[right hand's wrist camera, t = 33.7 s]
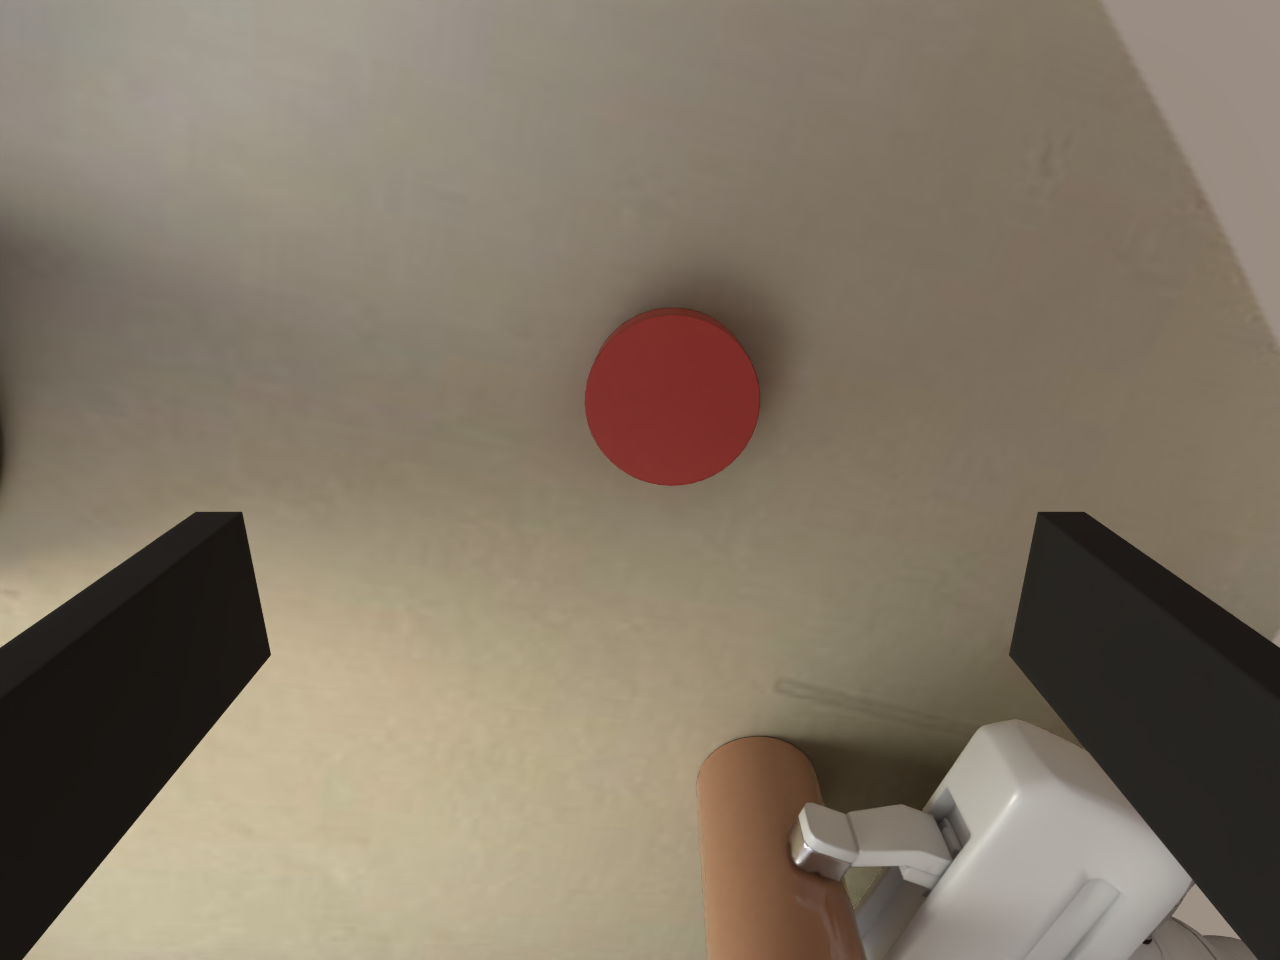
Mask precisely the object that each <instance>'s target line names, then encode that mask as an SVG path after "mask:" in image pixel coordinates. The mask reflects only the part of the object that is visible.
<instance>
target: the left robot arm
mask: <svg viewBox="0 0 1280 960" xmlns="http://www.w3.org/2000/svg"><path fill="white" fill-rule="evenodd" d="M787 837H788V842H789V843H791V849H790V853H791V858H792V860H793V861H794V863H795V864H796V865H797V866H798V867H799V868H801V869H802V870H804V871H807V872H809V873H813V872H819V873H820V875H821V876H822V877H824V878H827V879H830V880H833V881H836V882H839V881H840V880H841V879H842V877H843V876H844V874H845V873H846V872H847V870H848V869H849V867H850V866H851V867H881V866H884V867H883V868H882V870H881V871H880V873H879V874H878V876H877V877H876V878H875V880H874V881H873V883H872V884H871V886H870V887H869V889H868V890H867V892H866V893H865V895H864V896H863V897H862V899H861V900H860V902H859V903H858V905H857V906H856V908H855V909H854V914H855V918H856V921H857V925H858V928H859V932H860V936H861V939H862V943H863V947H864V950H865V954H866V957H867V960H1258V959H1257V958H1256V957H1255V956H1254V954H1253V953H1252V952H1251V951H1250V949H1249V948H1248V947H1247V946H1246V945H1245V943H1244V942H1243V941H1242V940H1239V939H1235V938H1231V937H1224V936H1210V935H1206V936H1202V935H1201V934H1200V933H1198V932H1197V931H1196V930H1194V929H1193V928H1191V927H1190V926H1188V925H1186V924H1185V923H1183V922H1182V921H1180V920H1178V919H1176V918H1174V917H1172V914H1173V913H1174V912H1175V911H1176V909H1177V908H1178V906H1179V905H1180V903H1181V902H1182V900H1183V898H1184V897H1185V895H1186V893H1187V892H1188V891H1189V890H1190V888H1191V887H1192V886H1193V885H1194V884H1195V882H1194V881H1193V880H1192V878H1191V877H1190V876H1189V875H1188V874H1187V872H1186V871H1185V870H1184V869H1183V867H1182V866H1181V865H1180V864H1179V862H1178V861H1177V860H1176V859H1175V858H1174V856H1173V855H1172V854H1171V853H1170V851H1169V850H1168V849H1167V848H1166V847H1165V845H1164V844H1163V843H1162V842H1161V840H1160V839H1159V838H1158V837H1157V836H1156V834H1155V833H1154V832H1153V831H1152V829H1151V828H1150V827H1149V826H1148V825H1147V823H1146V822H1145V821H1144V820H1143V818H1142V817H1141V816H1140V815H1139V813H1138V812H1137V811H1136V810H1135V809H1134V807H1133V806H1132V805H1131V804H1130V802H1129V801H1128V800H1127V799H1126V798H1125V796H1124V795H1123V794H1122V793H1121V791H1120V790H1119V789H1118V788H1117V787H1116V785H1115V784H1114V783H1113V782H1112V780H1111V779H1110V778H1109V777H1108V776H1107V774H1106V773H1105V772H1104V771H1103V769H1102V768H1101V767H1100V766H1099V764H1098V763H1097V762H1096V761H1095V760H1094V758H1093V757H1092V756H1091V755H1090V753H1089V752H1088V751H1086V750H1084V749H1082V748H1080V747H1079V746H1077V745H1075V744H1073V743H1071V742H1069V741H1067V740H1065V739H1063V738H1061V737H1059V736H1057V735H1055V734H1053V733H1051V732H1048V731H1046V730H1044V729H1042V728H1040V727H1037V726H1035V725H1033V724H1030V723H1028V722H1025V721H1022V720H1018V719H1012V720H1005V721H1000V722H995V723H991V724H987V725H983V726H981V727H980V728H979V729H978V730H977V731H976V732H975V734H974V735H973V736H972V738H971V739H970V741H969V742H968V744H967V745H966V747H965V748H964V750H963V751H962V753H961V754H960V756H959V757H958V758H957V760H956V761H955V763H954V764H953V766H952V767H951V769H950V770H949V772H948V773H947V775H946V776H945V778H944V779H943V780H942V782H941V783H940V785H939V786H938V788H937V789H936V791H935V792H934V794H933V795H932V797H931V798H930V799H929V801H928V802H927V804H926V805H925V807H924V808H923V810H922V811H920V810H917V809H914V808H911V807H908V806H905V805H902V804H898V805H891V806H884V807H878V808H871V809H865V810H858V811H851V812H848V813H847V814H844V813H841V812H838V811H835V810H832V809H829V808H827V807H824V806H821V805H818V804H815V803H806V804H805V806H804V807H803V809H802V811H801V812H800V814H799V816H798V817H797V819H796V820H795V822H794V824H793V825H792V827H791V829H790V830H789V832H788V834H787Z"/></svg>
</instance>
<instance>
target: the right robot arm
mask: <svg viewBox="0 0 1280 960" xmlns="http://www.w3.org/2000/svg"><path fill="white" fill-rule="evenodd" d="M270 655H271V653H270V648H269V643H268V638H267V633H266V628H265V623H264V618H263V613H262V608H261V603H260V598H259V593H258V588H257V583H256V578H255V573H254V568H253V563H252V559H251V554H250V549H249V544H248V539H247V534H246V529H245V524H244V519H243V514H242V512H195V513H193V514H192V515H191V516H189V517H188V518H186V519H185V520H183V521H182V522H180V523H179V524H178V525H176V526H175V527H173V528H172V529H170V530H169V531H168V532H166V533H165V534H163V535H162V536H160V537H159V538H157V539H156V540H155V541H153V542H152V543H150V544H149V545H147V546H146V547H145V548H143V549H142V550H140V551H139V552H137V553H136V554H134V555H133V556H132V557H130V558H129V559H127V560H126V561H124V562H123V563H122V564H120V565H119V566H117V567H116V568H114V569H113V570H111V571H110V572H109V573H107V574H106V575H104V576H103V577H101V578H100V579H99V580H97V581H96V582H94V583H93V584H91V585H90V586H88V587H87V588H86V589H84V590H83V591H81V592H80V593H78V594H77V595H76V596H74V597H73V598H71V599H70V600H68V601H67V602H65V603H64V604H63V605H61V606H60V607H58V608H57V609H55V610H54V611H53V612H51V613H50V614H48V615H47V616H45V617H44V618H42V619H41V620H40V621H38V622H37V623H35V624H34V625H32V626H31V627H30V628H28V629H27V630H25V631H24V632H22V633H21V634H19V635H18V636H17V637H15V638H14V639H12V640H11V641H9V642H8V643H7V644H5V645H4V646H2V647H1V648H0V960H22V959H23V958H24V957H25V956H26V954H27V953H28V952H29V951H30V949H31V948H32V947H33V946H34V945H35V943H36V942H37V941H38V940H39V938H40V937H41V936H42V935H43V934H44V932H45V931H46V930H47V929H48V927H49V926H50V925H51V924H52V923H53V921H54V920H55V919H56V918H57V916H58V915H59V914H60V913H61V911H62V910H63V909H64V908H65V907H66V905H67V904H68V903H69V902H70V900H71V899H72V898H73V897H74V896H75V894H76V893H77V892H78V891H79V889H80V888H81V887H82V886H83V885H84V883H85V882H86V881H87V880H88V878H89V877H90V876H91V875H92V874H93V872H94V871H95V870H96V869H97V867H98V866H99V865H100V864H101V862H102V861H103V860H104V859H105V858H106V856H107V855H108V854H109V853H110V851H111V850H112V849H113V848H114V847H115V845H116V844H117V843H118V842H119V840H120V839H121V838H122V837H123V836H124V834H125V833H126V832H127V831H128V829H129V828H130V827H131V826H132V825H133V823H134V822H135V821H136V820H137V818H138V817H139V816H140V815H141V813H142V812H143V811H144V810H145V809H146V807H147V806H148V805H149V804H150V802H151V801H152V800H153V799H154V798H155V796H156V795H157V794H158V793H159V791H160V790H161V789H162V788H163V787H164V785H165V784H166V783H167V782H168V780H169V779H170V778H171V777H172V776H173V774H174V773H175V772H176V771H177V769H178V768H179V767H180V766H181V764H182V763H183V762H184V761H185V760H186V758H187V757H188V756H189V755H190V753H191V752H192V751H193V750H194V749H195V747H196V746H197V745H198V744H199V742H200V741H201V740H202V739H203V738H204V736H205V735H206V734H207V733H208V731H209V730H210V729H211V728H212V727H213V725H214V724H215V723H216V722H217V720H218V719H219V718H220V717H221V715H222V714H223V713H224V712H225V711H226V709H227V708H228V707H229V706H230V704H231V703H232V702H233V701H234V700H235V698H236V697H237V696H238V695H239V693H240V692H241V691H242V690H243V689H244V687H245V686H246V685H247V684H248V682H249V681H250V680H251V679H252V678H253V676H254V675H255V674H256V673H257V671H258V670H259V669H260V668H261V666H262V665H263V664H264V663H265V662H266V660H267V659H268V658H269V657H270ZM1009 655H1010V657H1011V658H1012V659H1013V660H1014V662H1015V663H1016V664H1017V665H1018V666H1019V668H1020V669H1021V670H1022V671H1023V673H1024V674H1025V675H1026V676H1027V678H1028V679H1029V680H1030V681H1031V682H1032V684H1033V685H1034V686H1035V687H1036V689H1037V690H1038V691H1039V692H1040V693H1041V695H1042V696H1043V697H1044V698H1045V700H1046V701H1047V702H1048V703H1049V704H1050V706H1051V707H1052V708H1053V709H1054V711H1055V712H1056V713H1057V714H1058V715H1059V717H1060V718H1061V719H1062V720H1063V722H1064V723H1065V724H1066V725H1067V727H1068V728H1069V729H1070V730H1071V731H1072V733H1073V734H1074V735H1075V736H1076V738H1077V739H1078V740H1079V741H1080V742H1081V744H1082V745H1083V746H1084V747H1085V749H1086V750H1087V751H1088V752H1089V753H1090V755H1091V756H1092V757H1093V758H1094V760H1095V761H1096V762H1097V763H1098V764H1099V766H1100V767H1101V768H1102V769H1103V771H1104V772H1105V773H1106V774H1107V776H1108V777H1109V778H1110V779H1111V780H1112V782H1113V783H1114V784H1115V785H1116V787H1117V788H1118V789H1119V790H1120V791H1121V793H1122V794H1123V795H1124V796H1125V798H1126V799H1127V800H1128V801H1129V802H1130V804H1131V805H1132V806H1133V807H1134V809H1135V810H1136V811H1137V812H1138V813H1139V815H1140V816H1141V817H1142V818H1143V820H1144V821H1145V822H1146V823H1147V825H1148V826H1149V827H1150V828H1151V829H1152V831H1153V832H1154V833H1155V834H1156V836H1157V837H1158V838H1159V839H1160V840H1161V842H1162V843H1163V844H1164V845H1165V847H1166V848H1167V849H1168V850H1169V851H1170V853H1171V854H1172V855H1173V856H1174V858H1175V859H1176V860H1177V861H1178V862H1179V864H1180V865H1181V866H1182V867H1183V869H1184V870H1185V871H1186V872H1187V874H1188V875H1189V876H1190V877H1191V878H1192V880H1193V881H1194V882H1195V883H1196V885H1197V886H1198V887H1199V888H1200V889H1201V891H1202V892H1203V893H1204V894H1205V896H1206V897H1207V898H1208V899H1209V900H1210V902H1211V903H1212V904H1213V905H1214V907H1215V908H1216V909H1217V910H1218V912H1219V913H1220V914H1221V915H1222V916H1223V918H1224V919H1225V920H1226V921H1227V923H1228V924H1229V925H1230V926H1231V927H1232V929H1233V930H1234V931H1235V932H1236V933H1237V935H1238V936H1239V937H1240V938H1241V940H1242V941H1243V942H1244V943H1245V945H1246V946H1247V947H1248V948H1249V949H1250V951H1251V952H1252V953H1253V954H1254V956H1255V957H1256V958H1257V959H1258V960H1280V648H1279V647H1278V646H1276V645H1275V644H1273V643H1272V642H1271V641H1269V640H1268V639H1266V638H1265V637H1263V636H1262V635H1261V634H1259V633H1258V632H1256V631H1255V630H1253V629H1252V628H1250V627H1249V626H1248V625H1246V624H1245V623H1243V622H1242V621H1240V620H1239V619H1238V618H1236V617H1235V616H1233V615H1232V614H1230V613H1229V612H1227V611H1226V610H1225V609H1223V608H1222V607H1220V606H1219V605H1217V604H1216V603H1215V602H1213V601H1212V600H1210V599H1209V598H1207V597H1206V596H1204V595H1203V594H1202V593H1200V592H1199V591H1197V590H1196V589H1194V588H1193V587H1192V586H1190V585H1189V584H1187V583H1186V582H1184V581H1183V580H1181V579H1180V578H1179V577H1177V576H1176V575H1174V574H1173V573H1171V572H1170V571H1169V570H1167V569H1166V568H1164V567H1163V566H1161V565H1160V564H1158V563H1157V562H1156V561H1154V560H1153V559H1151V558H1150V557H1148V556H1147V555H1146V554H1144V553H1143V552H1141V551H1140V550H1138V549H1137V548H1135V547H1134V546H1133V545H1131V544H1130V543H1128V542H1127V541H1125V540H1124V539H1123V538H1121V537H1120V536H1118V535H1117V534H1115V533H1114V532H1112V531H1111V530H1110V529H1108V528H1107V527H1105V526H1104V525H1102V524H1101V523H1100V522H1098V521H1097V520H1095V519H1094V518H1092V517H1091V516H1089V515H1088V514H1087V513H1085V512H1038V514H1037V519H1036V524H1035V529H1034V534H1033V539H1032V544H1031V549H1030V554H1029V559H1028V563H1027V568H1026V573H1025V578H1024V583H1023V588H1022V593H1021V598H1020V603H1019V608H1018V613H1017V618H1016V623H1015V628H1014V633H1013V638H1012V643H1011V648H1010V653H1009Z"/></svg>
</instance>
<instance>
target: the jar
mask: <svg viewBox="0 0 1280 960" xmlns="http://www.w3.org/2000/svg"><path fill="white" fill-rule="evenodd" d="M696 792H697V808H698V824H699V840H700V856H701V872H702V888H703V904H704V920H705V936H706V952H707V960H867V957H866V954H865V950H864V947H863V943H862V939H861V936H860V932H859V928H858V925H857V921H856V918H855V914H854V910H853V907H852V903H851V900H850V896H849V892H848V889H847V885H846V881H845V878H844V876H843V877H842V879H841V880H840V881H839V882H836V881H833V880H830V879H827V878H824V877H822V876H821V875H820V873H819V872H813V873H809V872H807V871H804V870H802V869H801V868H799V867H798V866H797V865H796V864H795V863H794V861H793V860H792V858H791V853H790V849H791V843H789V842H788V837H787V834H788V832H789V830H790V829H791V827H792V825H793V824H794V822H795V820H796V819H797V817H798V816H799V814H800V812H801V811H802V809H803V807H804V806H805V804H806V803H815V804H818V805H821V806H824V807H825V805H824V802H823V798H822V795H821V791H820V787H819V784H818V780H817V777H816V773H815V770H814V768H813V765H812V764H811V762H810V761H809V759H808V758H807V757H806V756H805V755H804V754H803V753H802V752H801V751H800V750H799V749H797V748H796V747H794V746H793V745H791V744H789V743H787V742H785V741H782V740H779V739H775V738H771V737H746V738H741V739H737V740H734V741H731V742H729V743H727V744H725V745H723V746H721V747H720V748H718V749H717V750H716V751H714V752H713V753H712V754H711V755H710V756H709V757H708V758H707V759H706V761H705V762H704V763H703V765H702V767H701V769H700V771H699V774H698V777H697V783H696Z"/></svg>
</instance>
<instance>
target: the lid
mask: <svg viewBox="0 0 1280 960" xmlns="http://www.w3.org/2000/svg"><path fill="white" fill-rule="evenodd" d="M759 408H760V391H759V384H758V379H757V376H756V372H755V370H754V367H753V365H752V363H751V361H750V359H749V357H748V356H747V354H746V352H745V351H744V349H743V347H742V346H741V344H740V343H739V341H738V340H737V339H736V337H735V336H734V335H733V334H732V333H731V332H730V331H729V330H728V329H727V328H726V327H725V326H724V325H722V324H721V323H719V322H718V321H716V320H715V319H713V318H711V317H709V316H707V315H705V314H702V313H700V312H697V311H693V310H689V309H684V308H661V309H656V310H651V311H648V312H645V313H642V314H639V315H637V316H635V317H633V318H631V319H630V320H628V321H627V322H625V323H624V324H622V325H621V326H620V327H619V328H617V329H616V330H615V331H614V332H613V333H612V334H611V335H610V337H609V338H608V339H607V340H606V341H605V343H604V344H603V346H602V347H601V349H600V351H599V353H598V355H597V357H596V359H595V361H594V364H593V366H592V368H591V371H590V374H589V377H588V380H587V385H586V391H585V409H586V417H587V421H588V425H589V428H590V430H591V433H592V436H593V437H594V439H595V441H596V443H597V445H598V446H599V448H600V449H601V451H602V452H603V453H604V455H605V456H606V457H607V458H608V459H609V460H610V461H611V462H612V463H613V464H615V465H616V466H617V467H618V468H619V469H621V470H622V471H624V472H625V473H627V474H629V475H631V476H633V477H635V478H637V479H639V480H642V481H645V482H648V483H653V484H658V485H669V486H674V485H685V484H691V483H695V482H698V481H701V480H704V479H706V478H709V477H711V476H713V475H715V474H717V473H718V472H720V471H722V470H723V469H724V468H726V467H727V466H728V465H729V464H731V463H732V462H733V461H734V460H735V459H736V458H737V457H738V456H739V455H740V453H741V452H742V451H743V449H744V448H745V447H746V445H747V443H748V442H749V440H750V438H751V436H752V434H753V432H754V429H755V427H756V423H757V419H758V416H759Z"/></svg>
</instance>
